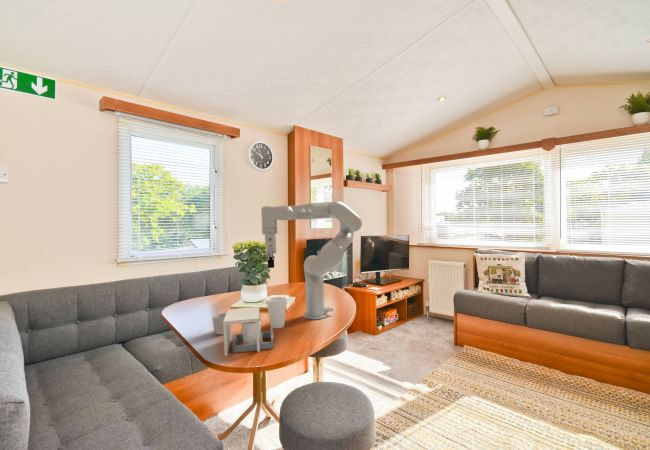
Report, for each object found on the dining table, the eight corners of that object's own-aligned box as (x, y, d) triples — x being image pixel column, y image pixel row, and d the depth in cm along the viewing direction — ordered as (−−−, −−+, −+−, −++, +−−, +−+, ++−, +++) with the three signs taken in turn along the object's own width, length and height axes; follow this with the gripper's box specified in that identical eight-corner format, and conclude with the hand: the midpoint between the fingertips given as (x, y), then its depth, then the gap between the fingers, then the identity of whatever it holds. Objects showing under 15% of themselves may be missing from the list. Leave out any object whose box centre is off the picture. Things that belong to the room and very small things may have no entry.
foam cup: (285, 321, 151) (284, 295, 151) (289, 328, 143) (288, 300, 142) (266, 324, 148) (265, 298, 148) (269, 331, 139) (268, 302, 139)
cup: (217, 328, 146) (216, 311, 145) (234, 327, 146) (233, 310, 146) (210, 336, 135) (210, 318, 135) (229, 335, 135) (228, 317, 135)
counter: (260, 336, 133) (259, 306, 133) (259, 352, 117) (258, 318, 117) (229, 339, 130) (228, 309, 130) (224, 356, 115) (223, 321, 115)
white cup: (256, 349, 120) (255, 324, 120) (238, 347, 122) (237, 323, 122) (265, 341, 128) (264, 318, 127) (248, 340, 130) (247, 316, 129)
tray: (273, 336, 132) (272, 327, 132) (273, 348, 120) (273, 338, 120) (235, 340, 129) (235, 331, 129) (232, 353, 117) (231, 342, 117)
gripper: (278, 231, 145) (279, 269, 146) (276, 230, 160) (277, 265, 160) (262, 231, 144) (263, 270, 144) (262, 230, 158) (263, 265, 159)
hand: (271, 267), depth 152 cm, fingers closed
